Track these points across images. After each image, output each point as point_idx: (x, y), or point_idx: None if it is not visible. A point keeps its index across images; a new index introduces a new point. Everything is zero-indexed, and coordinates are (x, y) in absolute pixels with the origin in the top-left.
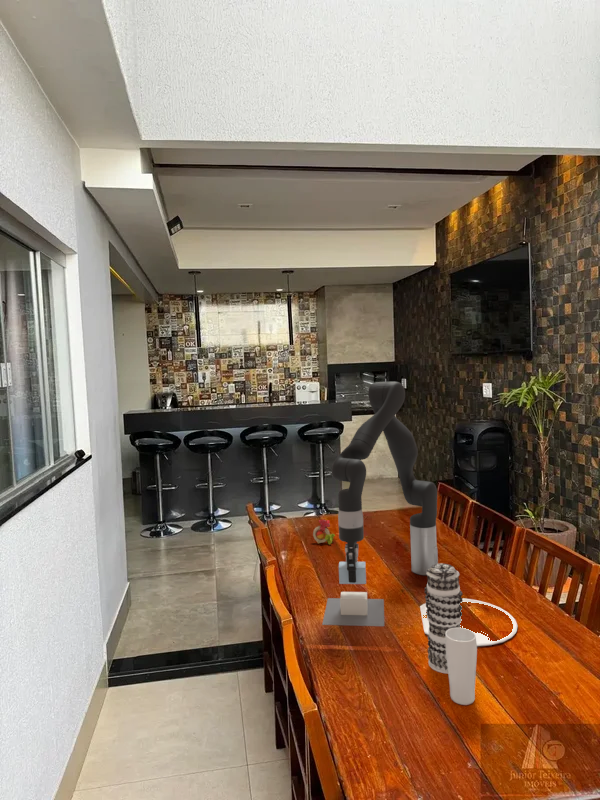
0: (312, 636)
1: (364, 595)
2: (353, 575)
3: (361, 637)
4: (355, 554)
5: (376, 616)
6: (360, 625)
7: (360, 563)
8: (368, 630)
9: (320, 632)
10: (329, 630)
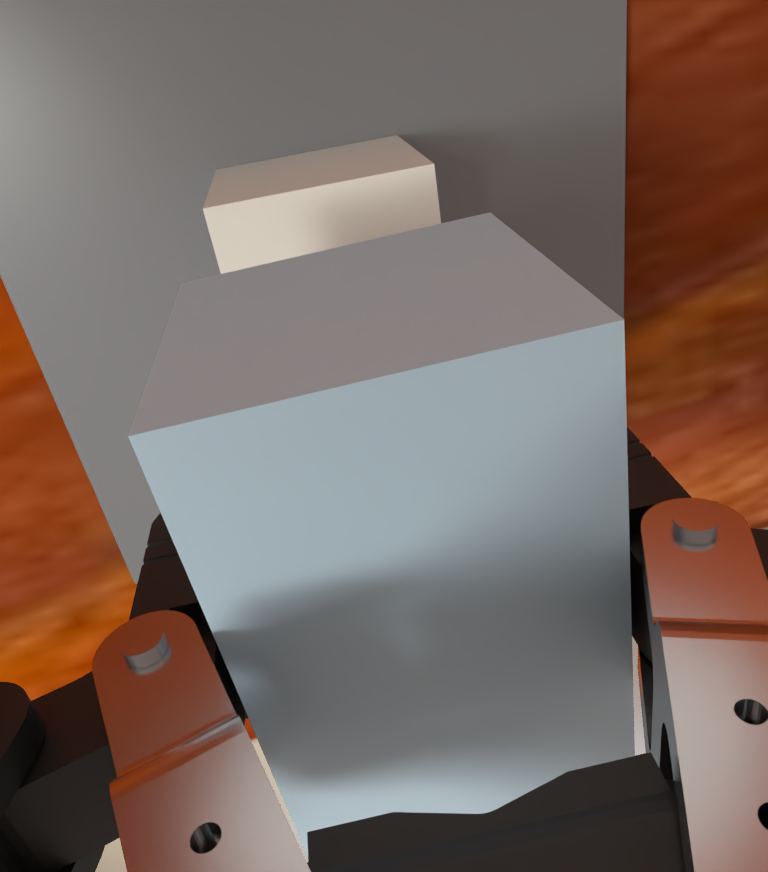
0: (731, 484)
1: (325, 220)
2: (665, 483)
3: (762, 111)
4: (619, 865)
5: (404, 17)
6: (623, 161)
7: (321, 518)
8: (632, 68)
9: (676, 454)
10: (644, 404)
